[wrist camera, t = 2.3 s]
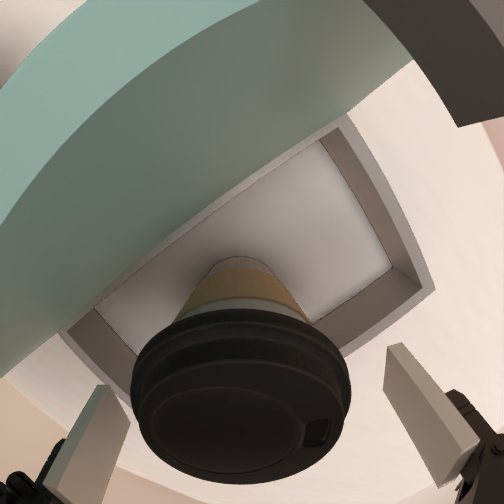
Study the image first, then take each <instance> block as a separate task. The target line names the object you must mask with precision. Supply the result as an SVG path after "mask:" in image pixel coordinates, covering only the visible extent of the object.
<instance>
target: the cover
mask: <svg viewBox="0 0 504 504" xmlns="http://www.w3.org/2000/svg"><path fill="white" fill-rule="evenodd" d="M413 59H414V60H415V61H416V63H417V64H418V65H419V67H420V68H421V70H422V71H423V72H424V74H425V75H426V77H427V78H428V80H429V81H430V83H431V84H432V86H433V87H434V89H435V90H436V92H437V93H438V95H439V96H440V98H441V100H442V101H443V103H444V105H445V106H446V108H447V110H448V111H449V113H450V115H451V116H452V118H453V120H454V122H455V124H456V125H457V127H458V128H459V127H462V126H466V125H470V124H474V123H478V122H482V121H486V120H490V119H494V118H499V117H503V116H504V0H87V1H86V2H85V3H84V4H82V5H81V6H80V7H79V8H78V9H76V10H75V11H74V12H73V13H72V14H70V15H69V16H68V17H67V18H66V19H65V20H64V21H63V22H61V23H60V24H59V25H58V26H57V27H56V28H55V29H54V30H53V31H52V32H51V33H50V34H49V35H48V36H47V37H46V38H45V39H44V40H43V41H42V42H41V43H40V44H39V45H38V46H37V47H36V48H35V49H34V50H33V51H32V52H31V53H30V54H29V56H28V57H27V58H26V59H25V60H24V61H23V62H22V63H21V65H20V66H19V67H18V68H17V69H16V71H15V72H14V73H13V74H12V75H11V77H10V78H9V79H8V80H7V82H6V83H5V84H4V86H3V87H2V88H1V90H0V378H2V377H3V376H4V375H5V374H6V373H7V372H9V371H10V370H11V369H12V368H13V367H15V366H16V365H17V364H18V363H19V362H21V361H22V360H23V359H24V358H25V357H27V356H28V355H29V354H30V353H32V352H33V351H34V350H35V349H36V348H38V347H39V346H40V345H41V344H43V343H44V342H45V341H46V340H48V339H49V338H50V337H52V336H53V335H54V334H55V333H56V332H57V331H58V330H59V329H60V328H61V327H62V326H64V325H65V324H66V323H67V322H68V321H69V320H70V319H71V318H72V317H73V316H74V315H75V314H77V313H78V312H79V311H80V310H81V309H82V308H83V307H84V306H85V305H87V304H88V303H89V302H90V301H91V300H92V299H93V298H95V297H96V296H97V295H98V294H99V293H100V292H101V291H103V290H104V289H105V288H106V287H107V286H108V285H109V284H111V283H112V282H113V281H114V280H115V279H116V278H118V277H119V276H120V275H121V274H122V273H124V272H125V271H126V270H127V269H128V268H130V267H131V266H132V265H133V264H134V263H136V262H137V261H138V260H139V259H140V258H142V257H143V256H144V255H145V254H147V253H148V252H149V251H150V250H152V249H153V248H154V247H155V246H157V245H158V244H159V243H160V242H162V241H163V240H164V239H165V238H167V237H168V236H169V235H170V234H172V233H173V232H174V231H176V230H177V229H178V228H179V227H181V226H182V225H183V224H185V223H186V222H187V221H189V220H190V219H191V218H193V217H194V216H195V215H197V214H198V213H199V212H200V211H202V210H203V209H204V208H206V207H207V206H209V205H210V204H211V203H213V202H214V201H215V200H217V199H218V198H219V197H221V196H222V195H224V194H225V193H226V192H228V191H229V190H230V189H232V188H233V187H235V186H236V185H237V184H239V183H240V182H242V181H243V180H244V179H246V178H247V177H249V176H250V175H252V174H253V173H254V172H256V171H257V170H259V169H260V168H262V167H263V166H265V165H266V164H267V163H269V162H270V161H272V160H273V159H275V158H276V157H278V156H279V155H281V154H282V153H284V152H285V151H287V150H288V149H290V148H291V147H293V146H294V145H296V144H297V143H299V142H300V141H302V140H304V139H305V138H307V137H308V136H310V135H311V134H313V133H314V132H316V131H318V130H319V129H321V128H322V127H324V126H325V125H327V124H329V123H330V122H332V121H334V120H335V119H337V118H338V117H340V116H342V115H343V114H345V113H347V112H348V111H350V110H351V109H352V108H353V107H354V106H356V105H357V104H358V103H359V102H360V101H362V100H363V99H364V98H365V97H367V96H368V95H369V94H370V93H371V92H373V91H374V90H375V89H376V88H378V87H379V86H380V85H381V84H382V83H384V82H385V81H386V80H387V79H389V78H390V77H391V76H392V75H394V74H395V73H396V72H397V71H399V70H400V69H401V68H403V67H404V66H405V65H406V64H408V63H409V62H410V61H411V60H413Z"/></svg>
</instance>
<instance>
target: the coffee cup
mask: <svg viewBox="0 0 504 504" xmlns="http://www.w3.org/2000/svg"><path fill="white" fill-rule="evenodd" d="M130 400H131V406H132V409H133V412H134V415H135V417H136V419H137V421H138V423H139V428H140V431H141V434H142V436H143V438H144V440H145V442H146V443H147V445H148V446H149V448H150V449H151V450H152V451H153V452H154V453H155V454H156V455H157V456H158V457H159V458H160V459H162V460H163V461H164V462H166V463H167V464H168V465H170V466H172V467H173V468H175V469H177V470H179V471H181V472H183V473H185V474H188V475H190V476H193V477H196V478H199V479H202V480H206V481H211V482H216V483H223V484H238V485H243V484H258V483H265V482H271V481H275V480H279V479H283V478H286V477H289V476H292V475H294V474H297V473H299V472H301V471H303V470H305V469H307V468H309V467H310V466H312V465H313V464H315V463H316V462H318V461H319V460H320V459H322V458H323V457H324V456H325V455H326V454H327V453H328V452H329V451H330V450H331V449H332V448H333V446H334V445H335V444H336V442H337V441H338V439H339V437H340V435H341V432H342V429H343V425H344V420H345V418H346V415H347V413H348V410H349V407H350V402H351V384H350V379H349V373H348V368H347V365H346V362H345V360H344V358H343V356H342V354H341V353H340V351H339V350H338V348H337V347H336V346H335V345H334V343H333V342H332V341H331V340H330V339H329V338H328V337H327V336H325V335H324V334H323V333H322V332H320V331H319V330H317V329H316V328H314V327H313V326H312V324H311V322H310V321H309V319H308V318H307V316H306V315H305V314H304V312H303V311H302V310H301V308H300V307H299V305H298V304H297V303H296V301H295V300H294V299H293V297H292V296H291V294H290V293H289V292H288V290H287V289H286V288H285V287H284V285H283V284H282V283H281V282H280V281H279V280H278V279H276V278H275V276H274V275H273V273H272V272H271V271H270V269H269V268H268V267H267V266H266V265H265V264H263V263H262V262H260V261H258V260H256V259H253V258H249V257H232V258H228V259H225V260H222V261H220V262H219V263H217V264H216V265H215V266H213V267H212V268H211V270H210V271H209V273H208V274H207V275H206V277H205V278H204V280H203V281H202V282H201V283H199V284H198V285H197V287H196V288H195V290H194V291H193V293H192V294H191V296H190V297H189V299H188V300H187V302H186V303H185V305H184V306H183V308H182V309H181V311H180V312H179V314H178V315H177V317H176V318H175V320H174V321H173V323H172V324H171V325H170V326H168V327H166V328H165V329H163V330H162V331H160V332H159V333H158V334H156V335H155V336H154V337H153V338H152V339H151V340H150V341H149V342H148V343H147V344H146V345H145V346H144V348H143V349H142V351H141V352H140V354H139V356H138V357H137V360H136V362H135V365H134V368H133V372H132V380H131V385H130Z"/></svg>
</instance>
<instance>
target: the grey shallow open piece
mask: <svg viewBox="0 0 504 504" xmlns="http://www.w3.org/2000/svg"><path fill="white" fill-rule="evenodd" d="M317 140H320V141H321V143H322V144H323V146H324V147H325V149H326V150H327V152H328V153H329V155H330V156H331V158H332V159H333V161H334V162H335V164H336V166H337V167H338V169H339V170H340V172H341V173H342V175H343V177H344V178H345V180H346V182H347V183H348V185H349V187H350V188H351V190H352V192H353V193H354V195H355V197H356V198H357V200H358V202H359V204H360V205H361V207H362V209H363V211H364V212H365V214H366V216H367V218H368V220H369V221H370V223H371V225H372V227H373V229H374V231H375V232H376V234H377V236H378V238H379V240H380V242H381V244H382V246H383V248H384V250H385V252H386V254H387V256H388V258H389V260H390V262H391V264H392V266H393V268H392V269H390V270H389V271H388V272H386V273H385V274H384V275H382V276H381V277H380V278H379V279H377V280H376V281H375V282H373V283H372V284H370V285H369V286H368V287H366V288H365V289H364V290H362V291H361V292H360V293H358V294H357V295H355V296H354V297H353V298H351V299H350V300H348V301H347V302H345V303H344V304H343V305H341V306H340V307H338V308H337V309H335V310H334V311H332V312H331V313H330V314H328V315H327V316H325V317H324V318H322V319H321V320H319V321H318V322H316V323H315V324H313V325H312V326H313V327H314V328H316V329H317V330H319V331H320V332H322V333H323V334H324V335H325V336H327V337H328V338H329V339H330V340H331V341H332V342H333V343H334V345H335V346H336V347H337V348H338V350H339V351H340V353H341V354H342V356H343V358H345V357H346V356H348V355H349V354H351V353H352V352H354V351H355V350H357V349H358V348H360V347H361V346H363V345H364V344H366V343H367V342H368V341H370V340H371V339H373V338H374V337H376V336H377V335H378V334H380V333H381V332H382V331H384V330H385V329H387V328H388V327H389V326H391V325H392V324H393V323H395V322H396V321H397V320H399V319H400V318H401V317H402V316H404V315H405V314H406V313H408V312H409V311H410V310H411V309H413V308H414V307H415V306H416V305H418V304H419V303H420V302H421V301H422V300H424V299H425V298H426V297H427V296H428V295H430V294H431V293H432V292H433V291H434V290H435V286H434V283H433V280H432V278H431V275H430V273H429V270H428V267H427V265H426V262H425V260H424V257H423V255H422V253H421V250H420V248H419V245H418V243H417V241H416V239H415V236H414V234H413V232H412V230H411V227H410V225H409V223H408V221H407V219H406V217H405V215H404V212H403V210H402V208H401V206H400V204H399V202H398V200H397V198H396V196H395V194H394V193H393V191H392V189H391V187H390V185H389V183H388V181H387V179H386V177H385V176H384V174H383V172H382V170H381V168H380V167H379V165H378V163H377V161H376V160H375V158H374V156H373V155H372V153H371V151H370V150H369V148H368V146H367V145H366V143H365V141H364V140H363V138H362V136H361V135H360V133H359V132H358V130H357V129H356V127H355V125H354V124H353V122H352V121H351V119H350V118H349V116H348V115H347V113H345V114H343V115H342V116H340V117H338V118H337V119H335V120H334V121H332V122H330V123H329V124H327V125H325V126H324V127H322V128H321V129H319V130H318V131H316V132H314V133H313V134H311V135H310V136H308V137H307V138H305V139H304V140H302V141H300V142H299V143H297V144H296V145H294V146H293V147H291V148H290V149H288V150H287V151H285V152H284V153H282V154H281V155H279V156H278V157H276V158H275V159H273V160H272V161H270V162H269V163H267V164H266V165H265V166H263V167H262V168H260V169H259V170H257V171H256V172H254V173H253V174H252V175H250V176H249V177H247V178H246V179H244V180H243V181H242V182H240V183H239V184H237V185H236V186H235V187H233V188H232V189H230V190H229V191H228V192H226V193H225V194H224V195H222V196H221V197H219V198H218V199H217V200H215V201H214V202H213V203H211V204H210V205H209V206H207V207H206V208H204V209H203V210H202V211H200V212H199V213H198V214H197V215H195V216H194V217H193V218H191V219H190V220H189V221H187V222H186V223H185V224H183V225H182V226H181V227H179V228H178V229H177V230H176V231H174V232H173V233H172V234H170V235H169V236H168V237H167V238H165V239H164V240H163V241H162V242H160V243H159V244H158V245H157V246H155V247H154V248H153V249H152V250H150V251H149V252H148V253H147V254H145V255H144V256H143V257H142V258H140V259H139V260H138V261H137V262H136V263H134V264H133V265H132V266H131V267H130V268H128V269H127V270H126V271H125V272H124V273H122V274H121V275H120V276H119V277H118V278H116V279H115V280H114V281H113V282H112V283H111V284H109V285H108V286H107V287H106V288H105V289H104V290H103V291H101V292H100V293H99V294H98V295H97V296H96V297H95V298H93V299H92V300H91V301H90V302H89V303H88V304H87V305H85V306H84V307H83V308H82V309H81V310H80V311H79V312H78V313H77V314H75V315H74V316H73V317H72V318H71V319H70V320H69V321H68V322H67V323H66V324H65V325H64V326H62V327H61V328H60V329H59V330H58V331H57V333H58V334H59V335H60V337H61V338H62V339H63V340H64V341H65V343H66V344H67V345H68V346H69V347H70V348H71V349H72V350H73V352H74V353H75V354H76V355H77V356H78V357H79V358H80V359H81V360H82V361H83V362H84V364H85V365H86V366H87V367H88V368H89V369H90V370H91V371H92V372H93V373H94V374H95V375H96V376H97V377H98V378H99V379H100V380H101V381H102V382H103V383H104V384H105V385H110V386H111V388H112V390H113V392H114V393H115V394H116V395H117V396H118V397H119V398H120V399H121V400H123V401H124V402H125V403H126V404H127V405H128V406H129V407H131V408H132V406H131V400H130V385H131V380H132V372H133V368H134V365H135V362H136V360H137V356H136V355H135V354H134V353H133V351H132V350H131V349H130V348H129V347H128V346H127V345H126V344H125V343H124V342H123V341H122V340H121V339H120V338H119V336H118V335H117V334H116V333H115V332H114V331H113V330H112V329H111V328H110V326H109V325H108V324H107V323H106V322H105V321H104V319H103V318H102V317H101V316H100V315H99V314H98V312H97V311H96V310H95V309H94V308H93V307H95V306H96V305H97V304H98V303H99V302H100V301H102V300H103V299H104V298H105V297H106V296H108V295H109V294H110V293H111V292H112V291H114V290H115V289H116V288H117V287H118V286H120V285H121V284H122V283H123V282H124V281H126V280H127V279H128V278H129V277H130V276H132V275H133V274H134V273H135V272H137V271H138V270H139V269H140V268H142V267H143V266H144V265H145V264H147V263H148V262H149V261H150V260H152V259H153V258H154V257H155V256H157V255H158V254H159V253H160V252H162V251H163V250H164V249H166V248H167V247H168V246H169V245H171V244H172V243H173V242H175V241H176V240H177V239H178V238H180V237H181V236H182V235H184V234H185V233H186V232H188V231H189V230H190V229H192V228H193V227H194V226H196V225H197V224H198V223H200V222H201V221H202V220H204V219H205V218H206V217H208V216H209V215H210V214H212V213H213V212H214V211H216V210H217V209H218V208H220V207H221V206H223V205H224V204H225V203H227V202H228V201H229V200H231V199H232V198H234V197H235V196H236V195H238V194H239V193H241V192H242V191H243V190H245V189H246V188H248V187H249V186H250V185H252V184H253V183H255V182H256V181H258V180H259V179H260V178H262V177H263V176H265V175H266V174H268V173H269V172H271V171H272V170H274V169H275V168H276V167H278V166H279V165H281V164H282V163H284V162H285V161H287V160H288V159H290V158H291V157H293V156H294V155H296V154H297V153H299V152H300V151H302V150H303V149H305V148H306V147H308V146H309V145H311V144H312V143H314V142H316V141H317Z"/></svg>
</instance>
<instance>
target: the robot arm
mask: <svg viewBox="0 0 504 504" xmlns="http://www.w3.org/2000/svg"><path fill="white" fill-rule="evenodd" d="M383 391H384V393H385V394H386V396H387V398H388V399H389V401H390V403H391V405H392V406H393V408H394V410H395V411H396V413H397V415H398V417H399V418H400V420H401V422H402V423H403V425H404V427H405V429H406V430H407V432H408V434H409V436H410V438H411V439H412V441H413V443H414V445H415V446H416V448H417V450H418V452H419V454H420V455H421V457H422V459H423V461H424V463H425V465H426V466H427V468H428V470H429V472H430V474H431V476H432V478H433V479H434V481H435V483H436V485H437V487H438V489H439V488H441V487H443V486H445V485H447V484H448V483H451V482H452V481H454V480H455V479H456V478H457V476H458V475H459V473H460V474H461V475H462V477H463V479H462V480H461V482H460V483H459V484H458V486H457V487H456V489H455V491H457V490H458V489H459V491H458V494H457V498H456V501H455V504H504V434H502V433H501V434H497V433H496V432H495V431H494V430H493V429H492V428H491V427H490V425H489V424H488V423H487V422H486V421H485V419H484V418H483V417H482V416H481V414H480V413H479V412H478V411H477V410H475V407H474V406H473V405H472V404H470V401H469V400H468V399H467V398H466V397H465V395H464V394H462V393H460V392H458V391H456V390H454V389H453V390H451V391H449V392H447V393H444V392H443V391H442V390H441V389H440V387H439V386H438V385H437V384H436V383H435V381H434V380H433V379H432V378H431V376H430V375H429V374H428V373H427V372H426V370H425V369H424V368H423V367H422V366H421V364H420V363H419V362H418V361H417V360H416V359H415V357H414V356H413V355H412V354H411V353H410V351H409V350H408V349H407V348H406V347H405V346H404V344H403V343H402V342H401V343H398V344H394V345H391V346H387V356H386V366H385V376H384V384H383ZM130 424H131V422H130V421H129V419H128V417H127V415H126V414H125V412H124V410H123V408H122V407H121V405H120V403H119V401H118V399H117V397H116V396H115V394H114V392H113V390H112V388H111V386H110V385H97V387H96V388H95V390H94V392H93V393H92V395H91V397H90V398H89V400H88V402H87V403H86V405H85V407H84V408H83V410H82V412H81V414H80V415H79V417H78V419H77V420H76V422H75V424H74V426H73V427H72V429H71V431H70V433H69V435H68V436H67V438H66V439H63V438H62V439H61V440H60V441H59V442H58V443H57V444H56V445H55V446H54V448H53V450H52V452H51V455H49V457H48V461H46V463H45V465H44V466H43V468H42V470H41V472H40V474H39V476H38V478H37V479H36V481H35V483H34V482H33V481H32V480H31V479H30V478H29V477H28V476H27V475H26V474H25V473H24V472H21V471H16V472H13V473H12V474H10V475H9V476H8V478H7V480H6V485H5V484H4V483H2V482H0V504H101V503H102V500H103V497H104V494H105V492H106V489H107V486H108V483H109V480H110V477H111V474H112V472H113V469H114V466H115V464H116V461H117V458H118V455H119V453H120V450H121V447H122V445H123V442H124V440H125V437H126V434H127V432H128V429H129V427H130Z"/></svg>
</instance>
